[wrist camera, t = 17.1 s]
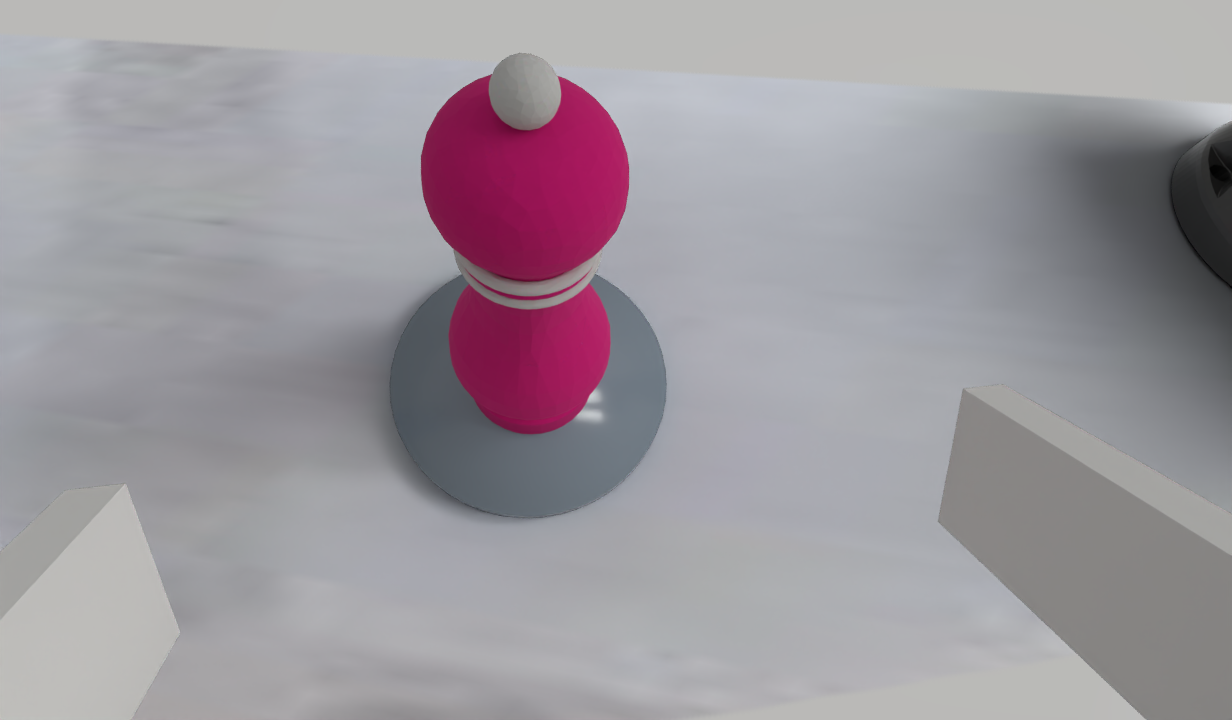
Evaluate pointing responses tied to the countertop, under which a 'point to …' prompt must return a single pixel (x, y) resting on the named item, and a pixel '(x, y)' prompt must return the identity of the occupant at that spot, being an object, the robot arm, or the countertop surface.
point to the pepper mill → (526, 238)
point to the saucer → (527, 463)
